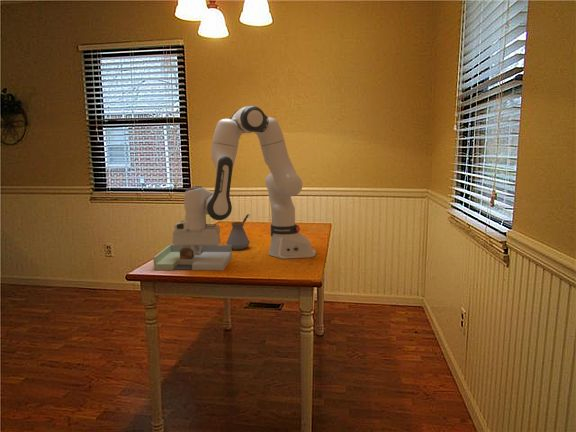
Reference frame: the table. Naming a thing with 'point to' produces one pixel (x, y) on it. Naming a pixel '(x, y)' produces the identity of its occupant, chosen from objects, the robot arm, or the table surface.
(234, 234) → the coffee pot
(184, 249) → the walnut block
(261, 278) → the table surface
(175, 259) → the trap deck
